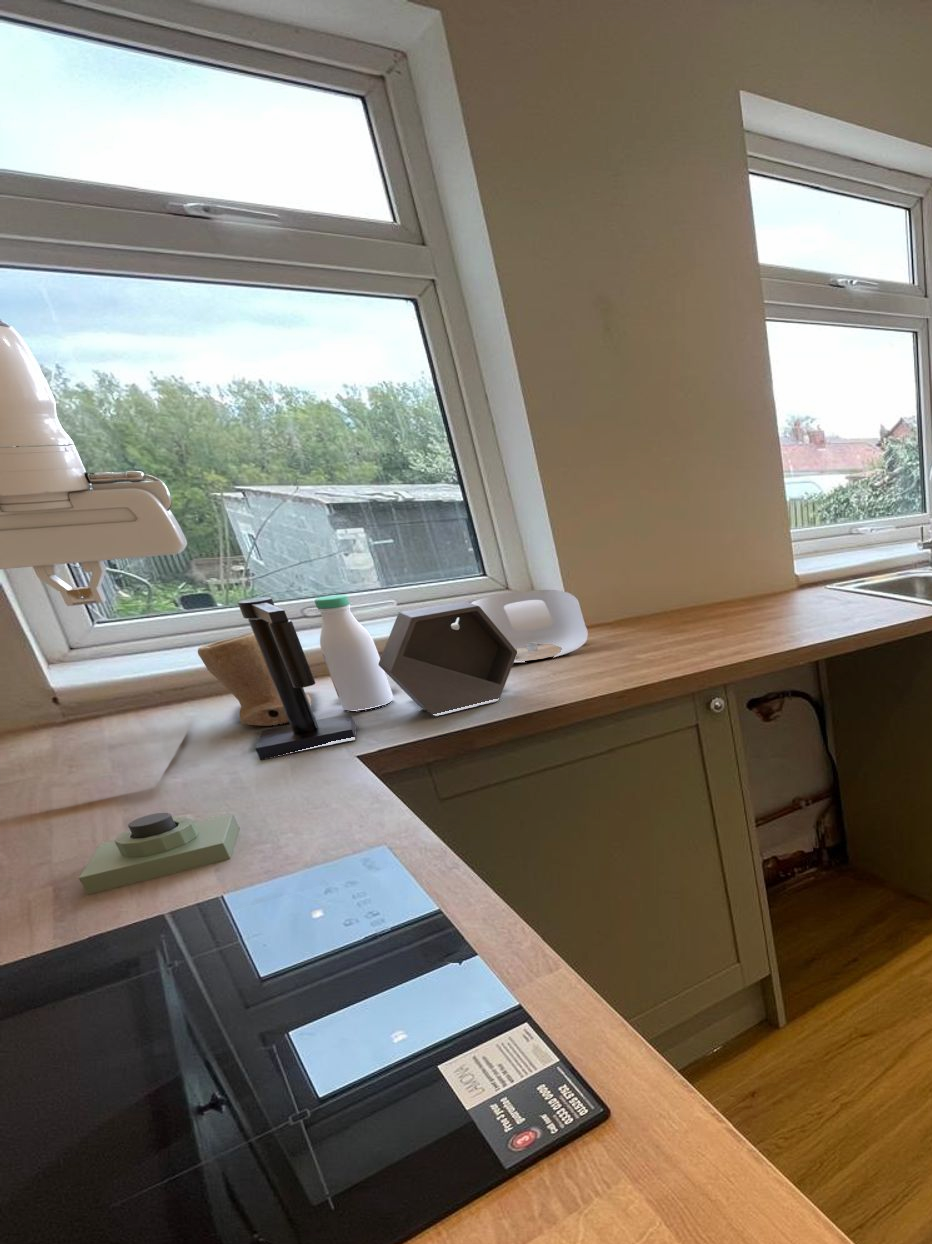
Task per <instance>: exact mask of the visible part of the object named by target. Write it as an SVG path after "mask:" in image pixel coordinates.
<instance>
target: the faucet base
mask: <svg viewBox="0 0 932 1244" xmlns="http://www.w3.org/2000/svg"><path fill="white" fill-rule="evenodd" d="M247 621H248V623H249V625H250V628H251V631H252V633H254V636H255V638H256V641H257V643H258V646H259V648H260V651H261V653H262V656H263V658H264V660H265V663H266V665H267V668H268V670H269V673H270V675H271V678H272V680H273V683H274V685H275V688H276V690H277V693H278V695H279V698H280V700H281V703H282V705H283V708H284V710H285V713H286V715H287V718H288V720H289V722H288V723H289V725H284V726H279V727H273V728H268V729H263V730H260V733H259V736H258V739H257V742H256V746H255V751H256V753H257V756H258V758H259V761H262V759H263V760H266V759H265V758H268V759H271V758H270V757H273V758H275V757H274V756H278V755H283V754H286V753H290V752H295V751H298V750H302V749H306V748H310V747H314V746H318V745H322V744H326V743H328V742H331V741H336V740H341V739H346V738H351V737H355V723H356V720H355V718H354V715H353V713H348V714H343V715H336V716H332V717H326V718H321V719H316V717H315V715H314V712H313V710H312V709H313V708H312V706H311V707H310V704H309V702H308V699H307V696H306V694H307V693H306V691H305V689H304V687H303V688H294V687H293V685H292V682H291V680H290V677H289V675H288V672H287V670H286V667H285V665H284V662H283V659H282V657H281V654H280V652H279V649H278V647H277V644H276V642H275V639H274V637H273V634H272V632H271V629H270V626H269V622H267V621H265V620H263V619H261V618H251V619H247ZM305 693H306V694H305ZM283 756H284V755H283ZM278 757H279V756H278Z"/></svg>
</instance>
